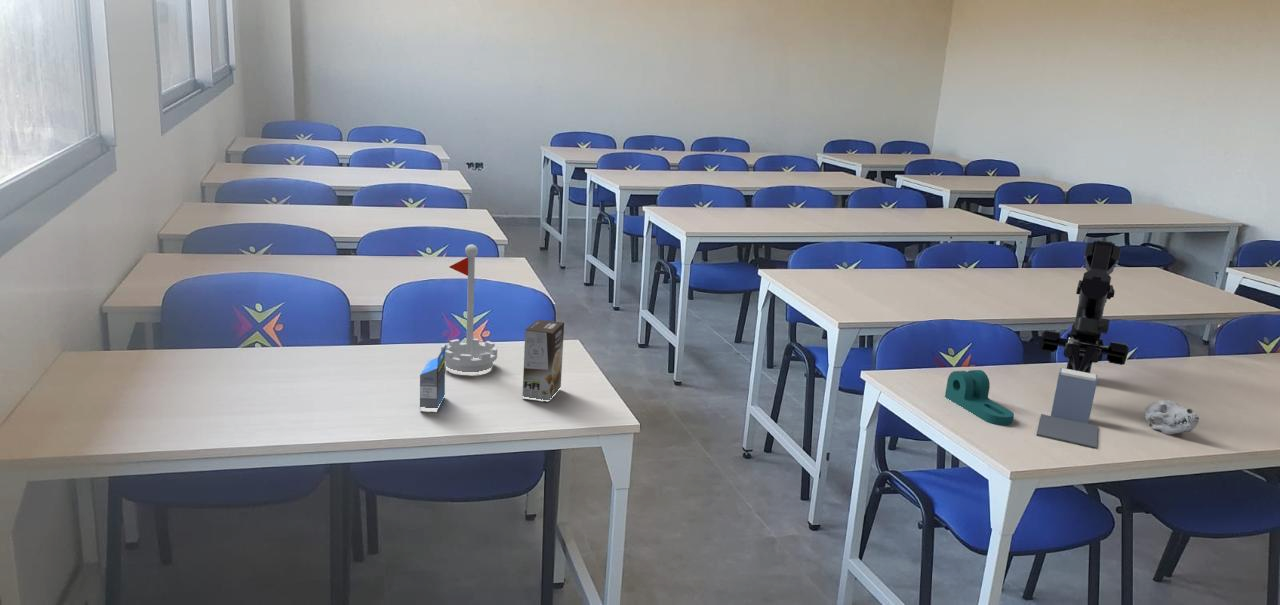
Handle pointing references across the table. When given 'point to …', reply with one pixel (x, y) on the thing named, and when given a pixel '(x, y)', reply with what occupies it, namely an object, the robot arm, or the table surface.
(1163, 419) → the skull
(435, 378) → the label tape cartridge
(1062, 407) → the book block
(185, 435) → the table surface
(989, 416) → the bracket
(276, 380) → the table surface
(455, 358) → the flag stand
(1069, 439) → the mat
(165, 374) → the table surface
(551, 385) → the coffee box
